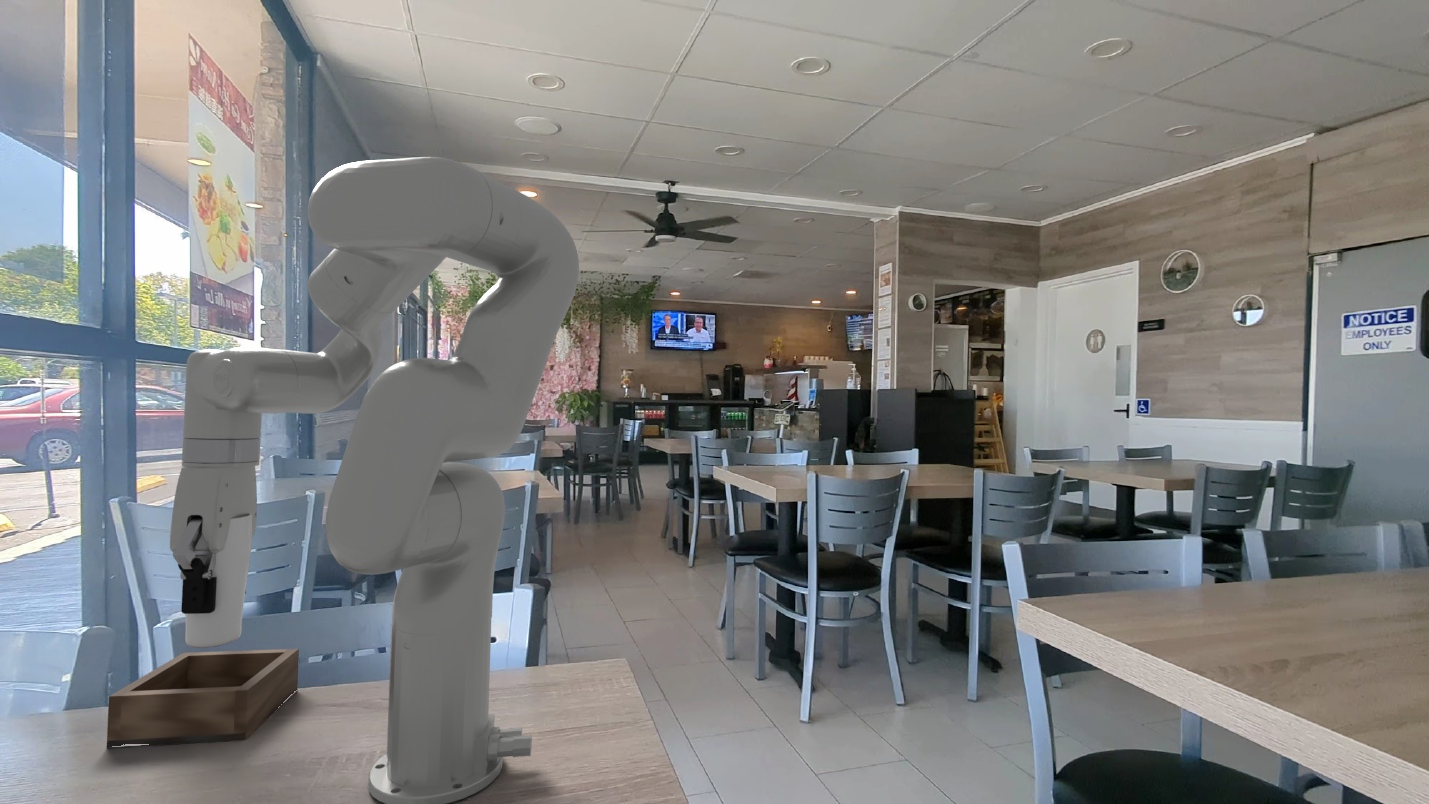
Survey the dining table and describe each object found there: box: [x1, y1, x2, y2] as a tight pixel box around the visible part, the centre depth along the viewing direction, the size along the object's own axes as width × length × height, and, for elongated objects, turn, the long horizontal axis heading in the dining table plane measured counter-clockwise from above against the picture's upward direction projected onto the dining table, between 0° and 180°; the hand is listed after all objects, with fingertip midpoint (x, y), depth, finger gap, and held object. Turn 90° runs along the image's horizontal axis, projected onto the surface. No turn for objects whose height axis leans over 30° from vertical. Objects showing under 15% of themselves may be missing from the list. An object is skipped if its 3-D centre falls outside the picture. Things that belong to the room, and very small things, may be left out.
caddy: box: [106, 648, 300, 749], centre depth 80 cm, size 13×13×6 cm
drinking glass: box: [184, 513, 253, 649], centre depth 80 cm, size 7×7×15 cm
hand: (215, 602), depth 80 cm, fingers closed on drinking glass, 6 cm apart
